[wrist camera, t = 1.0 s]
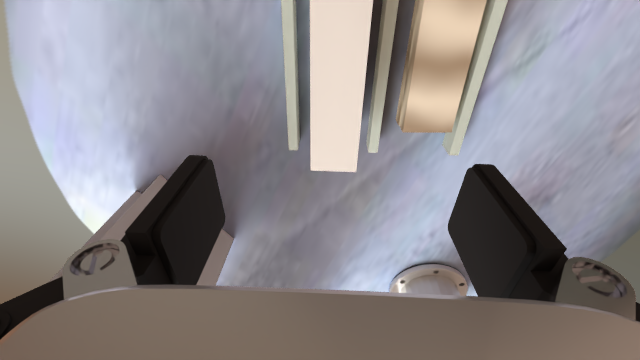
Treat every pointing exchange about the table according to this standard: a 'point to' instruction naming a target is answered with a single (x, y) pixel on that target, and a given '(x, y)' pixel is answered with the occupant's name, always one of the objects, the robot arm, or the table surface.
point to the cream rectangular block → (337, 80)
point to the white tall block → (131, 211)
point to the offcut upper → (439, 63)
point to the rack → (385, 41)
